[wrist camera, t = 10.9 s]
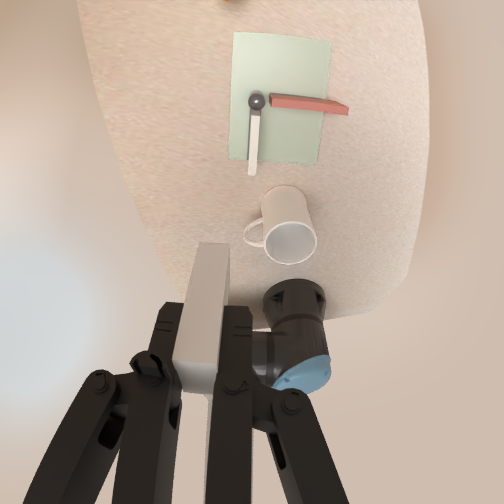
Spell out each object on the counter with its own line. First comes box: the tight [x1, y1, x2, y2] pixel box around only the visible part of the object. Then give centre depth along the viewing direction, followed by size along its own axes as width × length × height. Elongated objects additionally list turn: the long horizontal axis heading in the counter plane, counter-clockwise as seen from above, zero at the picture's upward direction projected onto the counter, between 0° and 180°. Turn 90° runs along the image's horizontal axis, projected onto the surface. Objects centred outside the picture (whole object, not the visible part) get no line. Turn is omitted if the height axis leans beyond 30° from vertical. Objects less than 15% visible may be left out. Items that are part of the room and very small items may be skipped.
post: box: [248, 90, 265, 110], centre depth 35 cm, size 2×2×8 cm
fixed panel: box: [248, 109, 260, 176], centre depth 39 cm, size 9×1×7 cm, turn 177°
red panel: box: [269, 94, 349, 116], centre depth 35 cm, size 10×1×7 cm, turn 88°
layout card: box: [228, 32, 332, 165], centre depth 38 cm, size 22×15×1 cm
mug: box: [243, 185, 317, 265], centre depth 46 cm, size 12×8×12 cm
